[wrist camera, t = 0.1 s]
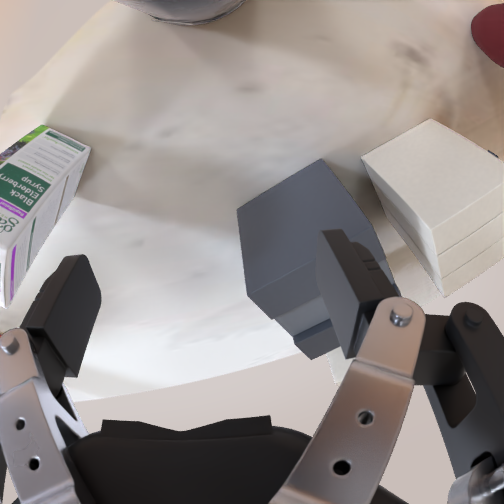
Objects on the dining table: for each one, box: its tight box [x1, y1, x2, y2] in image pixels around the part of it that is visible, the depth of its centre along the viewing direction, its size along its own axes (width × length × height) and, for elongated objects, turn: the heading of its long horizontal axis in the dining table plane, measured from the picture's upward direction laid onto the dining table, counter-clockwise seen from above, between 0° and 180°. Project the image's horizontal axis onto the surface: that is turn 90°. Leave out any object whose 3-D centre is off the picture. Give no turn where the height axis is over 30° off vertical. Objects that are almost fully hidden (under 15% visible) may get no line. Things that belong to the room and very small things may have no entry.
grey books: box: [237, 159, 402, 360], centre depth 26 cm, size 10×9×11 cm
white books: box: [361, 118, 504, 298], centre depth 23 cm, size 8×9×12 cm
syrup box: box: [0, 125, 91, 309], centre depth 18 cm, size 6×6×14 cm
